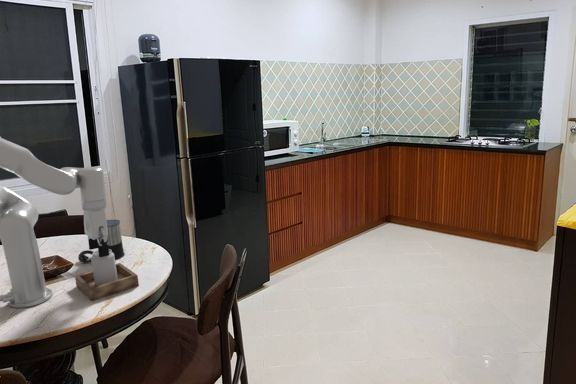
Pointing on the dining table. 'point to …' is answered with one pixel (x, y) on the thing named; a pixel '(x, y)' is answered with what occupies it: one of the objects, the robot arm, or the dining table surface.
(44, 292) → the robot arm
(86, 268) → the dining table surface
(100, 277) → the can
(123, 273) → the tray
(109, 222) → the milk frother
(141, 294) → the dining table surface
